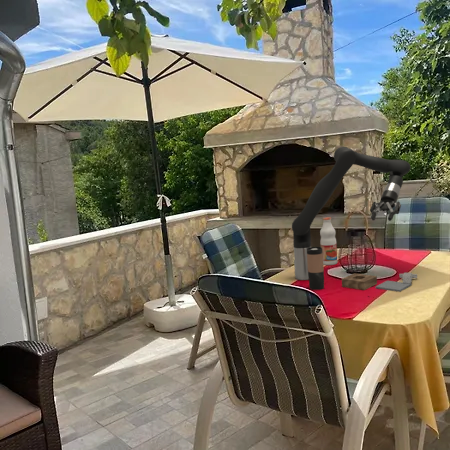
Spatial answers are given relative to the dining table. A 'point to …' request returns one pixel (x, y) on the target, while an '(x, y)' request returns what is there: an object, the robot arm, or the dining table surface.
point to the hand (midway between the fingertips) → (380, 219)
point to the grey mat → (393, 286)
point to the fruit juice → (328, 242)
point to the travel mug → (315, 268)
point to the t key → (407, 277)
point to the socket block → (359, 281)
